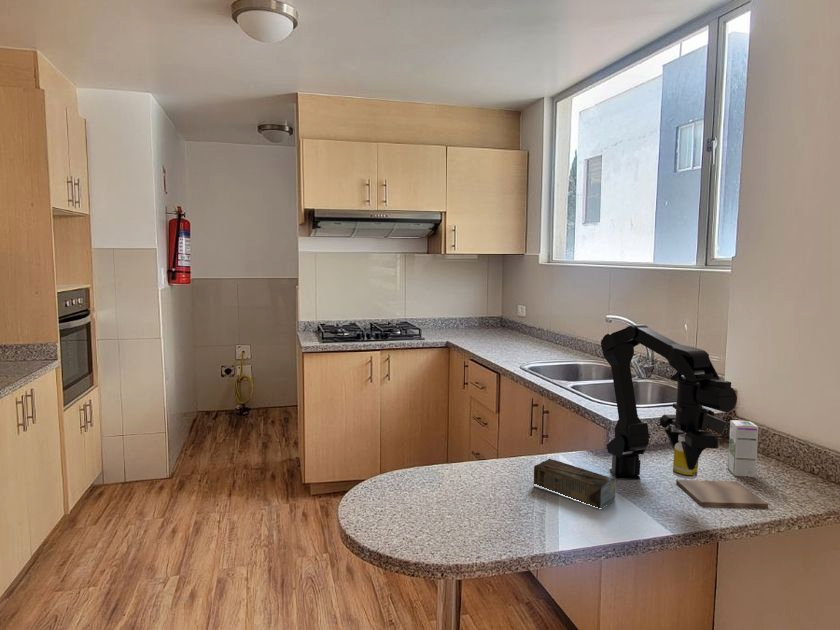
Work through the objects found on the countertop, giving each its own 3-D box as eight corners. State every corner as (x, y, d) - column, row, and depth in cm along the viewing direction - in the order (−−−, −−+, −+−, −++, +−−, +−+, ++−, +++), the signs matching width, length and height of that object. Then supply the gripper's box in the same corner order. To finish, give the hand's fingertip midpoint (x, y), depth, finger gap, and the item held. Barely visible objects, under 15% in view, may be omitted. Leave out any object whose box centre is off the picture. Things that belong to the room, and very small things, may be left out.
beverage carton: (600, 512, 133) (601, 484, 132) (531, 488, 146) (532, 463, 146) (616, 502, 138) (617, 476, 138) (547, 480, 152) (548, 456, 151)
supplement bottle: (695, 481, 133) (698, 440, 132) (671, 476, 136) (673, 436, 135) (698, 474, 138) (701, 435, 137) (674, 469, 141) (676, 431, 140)
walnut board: (701, 506, 137) (701, 502, 136) (676, 483, 150) (676, 479, 150) (768, 507, 136) (768, 503, 136) (736, 485, 150) (737, 481, 150)
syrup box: (756, 477, 156) (760, 426, 154) (733, 475, 157) (736, 424, 156) (748, 470, 161) (752, 420, 160) (726, 468, 162) (729, 419, 161)
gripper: (745, 413, 126) (740, 480, 127) (704, 393, 144) (700, 453, 146) (694, 411, 126) (690, 479, 127) (660, 392, 145) (657, 452, 146)
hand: (685, 465), depth 137 cm, fingers closed on supplement bottle, 5 cm apart
